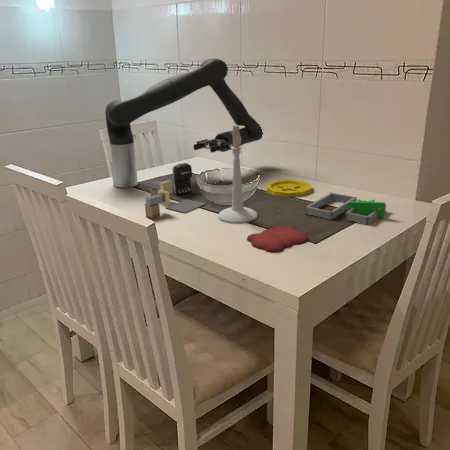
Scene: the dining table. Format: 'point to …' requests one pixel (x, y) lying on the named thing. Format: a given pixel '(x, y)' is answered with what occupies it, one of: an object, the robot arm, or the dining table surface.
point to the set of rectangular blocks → (158, 198)
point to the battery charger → (182, 178)
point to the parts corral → (339, 209)
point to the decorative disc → (288, 188)
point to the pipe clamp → (367, 207)
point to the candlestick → (237, 190)
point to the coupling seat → (185, 206)
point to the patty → (277, 239)
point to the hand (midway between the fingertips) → (202, 148)
